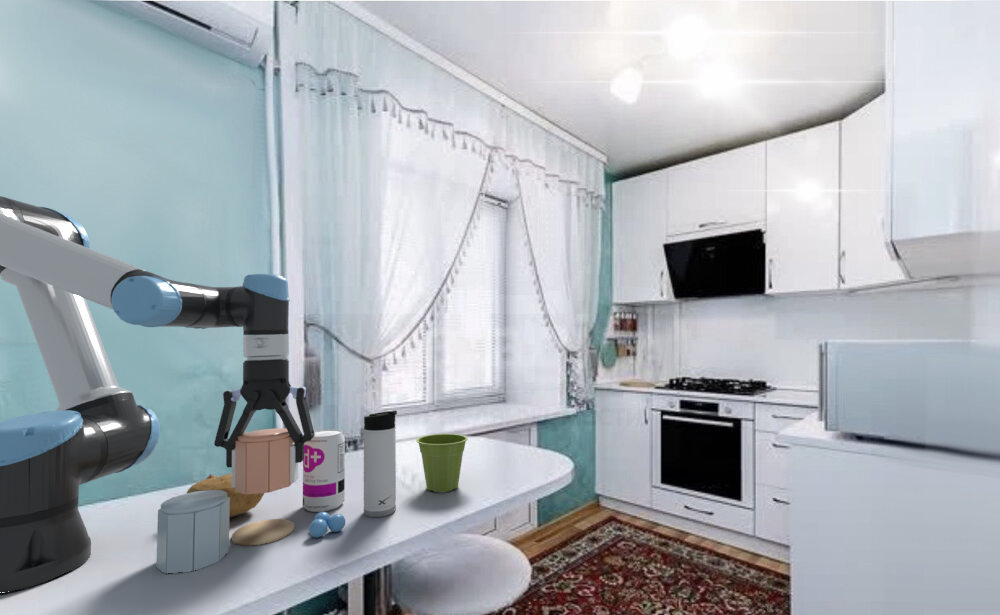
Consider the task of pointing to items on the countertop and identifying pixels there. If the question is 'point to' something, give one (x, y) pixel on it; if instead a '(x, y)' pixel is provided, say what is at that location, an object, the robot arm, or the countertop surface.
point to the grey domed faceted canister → (192, 531)
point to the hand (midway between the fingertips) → (265, 482)
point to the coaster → (262, 532)
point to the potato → (229, 494)
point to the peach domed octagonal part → (263, 461)
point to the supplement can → (324, 471)
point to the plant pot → (442, 460)
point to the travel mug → (380, 464)
